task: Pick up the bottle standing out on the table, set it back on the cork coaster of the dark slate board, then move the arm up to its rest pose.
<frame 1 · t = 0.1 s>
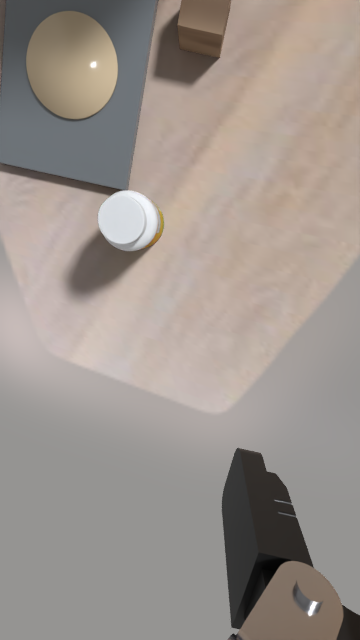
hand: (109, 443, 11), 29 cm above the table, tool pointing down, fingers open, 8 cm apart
supplement bottle: (140, 223, 37), on the table
walnut block: (204, 30, 32), on the table
slate board: (76, 72, 33), on the table
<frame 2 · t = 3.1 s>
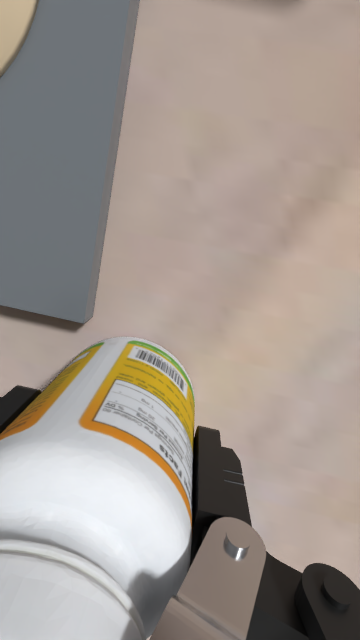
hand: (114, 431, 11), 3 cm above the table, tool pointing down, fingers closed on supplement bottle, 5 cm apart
supplement bottle: (131, 393, 14), on the table, touching gripper
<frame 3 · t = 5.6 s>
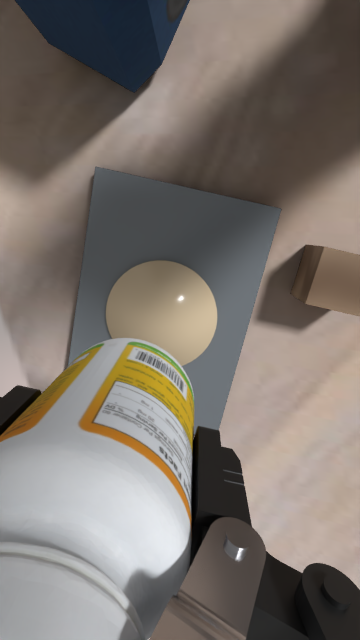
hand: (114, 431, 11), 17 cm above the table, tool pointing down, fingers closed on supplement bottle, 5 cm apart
supplement bottle: (130, 394, 14), point 14 cm above the table, touching gripper
walnut block: (322, 275, 26), on the table
slate board: (162, 313, 28), on the table
when the fingers open (5 cm above the table, at t = 8.3 s): supplement bottle drops 1 cm, resting on slate board.
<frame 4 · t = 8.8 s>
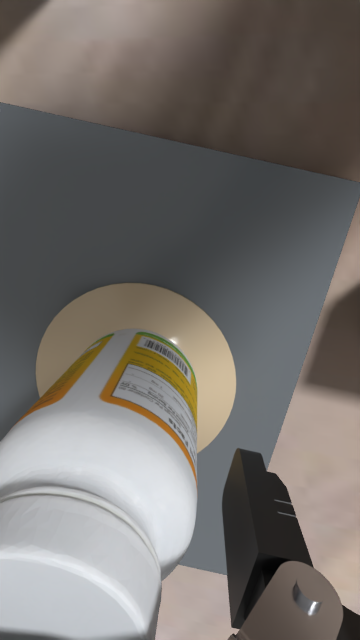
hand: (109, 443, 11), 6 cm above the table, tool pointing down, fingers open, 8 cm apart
supplement bottle: (138, 381, 15), point 1 cm above the table, touching slate board
slate board: (139, 371, 16), on the table
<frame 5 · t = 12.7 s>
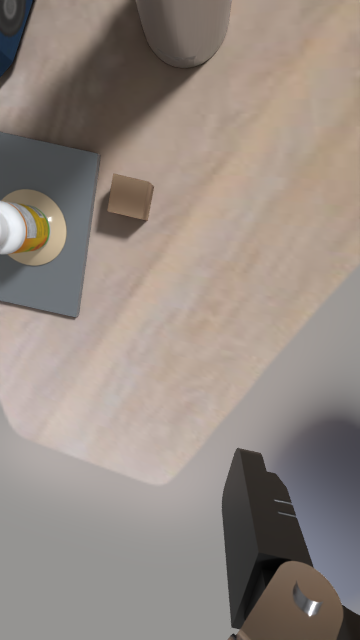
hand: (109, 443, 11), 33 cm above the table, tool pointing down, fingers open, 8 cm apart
supplement bottle: (31, 228, 41), point 1 cm above the table, touching slate board
walnut block: (134, 200, 40), on the table
slate board: (34, 228, 42), on the table
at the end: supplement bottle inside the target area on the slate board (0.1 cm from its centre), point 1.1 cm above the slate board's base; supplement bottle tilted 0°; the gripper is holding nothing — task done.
